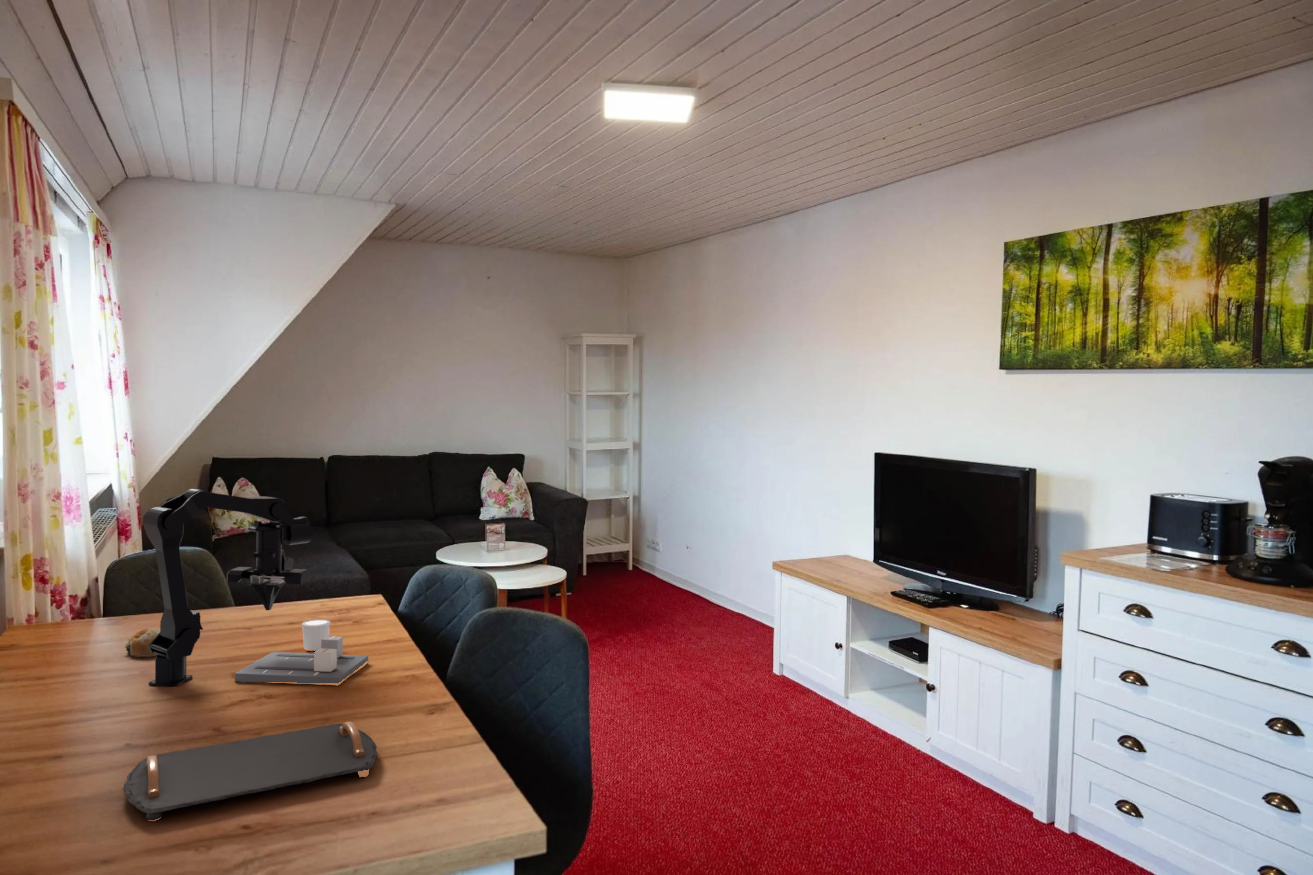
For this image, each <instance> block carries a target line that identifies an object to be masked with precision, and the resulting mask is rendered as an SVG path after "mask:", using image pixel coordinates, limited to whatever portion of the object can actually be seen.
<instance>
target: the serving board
mask: <svg viewBox="0 0 1313 875" xmlns="http://www.w3.org/2000/svg"><path fill="white" fill-rule="evenodd" d="M377 747H378V746H377V744H376V743H375V742H374V740H373V738H371V736H370V735H368V734H367V733H366V732H364V731H362V730H360V729H358V727H357V726H356V725H355V723H354V722H352V721H345V722H344V723H333V724H327V725H322V726H321V725H320V726H316V727H310V728H304V729H298V730H294V731H292V730H291V731H287V732H283V733H274V734H267V735H264V736H263V735H262V736H257V737H252V738H246V739H240V740H234V741H228V742H223V743H217V744H211V745H206V746H200V747H193V748H187V749H184V750H177V751H171V752H166V753H165V752H164V753H160V754H159V753H157V754H151V755H149V756H147V757H146V758H144V759H142V760H140V761H139V762H138V763H137V764H136V765H135V766H134V768H132V769H131V771H130V772H129V773H128V775H127V777H126V780H125V782H124V784H123V788H122V790H123V793H124V796H125V797H126V798H127V801H128V803H129V804H130V805H132V806H133V807H134V808H135V809H136V810H139V811H140V812H142V813H146V815H145V819H146V818H147V819H146V821H147V820H155V819H158V818H160V817H161V816H162V817H163V814H164V813H163V812H167V811H171V810H176V809H180V808H181V809H182V808H185V807H186V808H187V807H191V806H196V805H201V804H207V803H211V802H217V801H223V800H226V799H230V798H234V797H239V796H243V795H244V796H245V795H250V794H255V793H256V794H257V793H262V792H267V791H270V790H272V791H273V790H275V789H276V790H277V789H279V788H285V787H289V786H294V785H300V784H305V783H306V784H307V783H312V782H315V781H319V780H322V779H325V778H326V779H328V778H333V777H338V776H343V775H348V774H352V773H353V774H354V773H357V772H358V771H363V770H368V769H370V770H371V769H373V767H374V765H375V764H376V763H375V762H376V759H377V757H378V750H377Z"/></svg>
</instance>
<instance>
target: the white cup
mask: <svg viewBox="0 0 1313 875" xmlns="http://www.w3.org/2000/svg"><path fill="white" fill-rule="evenodd" d="M301 627H302V639H303V640H302V641H303V642H302V643H303V650H304V649H305V650H314V651H315V650H318V649H320V648H321V640H322V639H323V638H325V637H327V636H330V627H331V621H330V620H328V619H310V620H306V621H303V622H301Z"/></svg>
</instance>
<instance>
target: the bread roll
mask: <svg viewBox="0 0 1313 875" xmlns="http://www.w3.org/2000/svg"><path fill="white" fill-rule="evenodd" d="M159 633H160V627H159V628H158V627H147V628H144V629H141V630H140V631H137V632H136V633H135V634H133V635H132V636H131V637H129V638H128V642H127V643H125V646H124V648H125V651H126V652H127V654H128V655H129V656H131V657H133V658H134V657H135V658H151V657H156V655H157V654H154V653H151V651H150V649H149V644H150V643H151V642H152V641H153V639H154V638H155V637H156V636H157V635H158V634H159Z"/></svg>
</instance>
